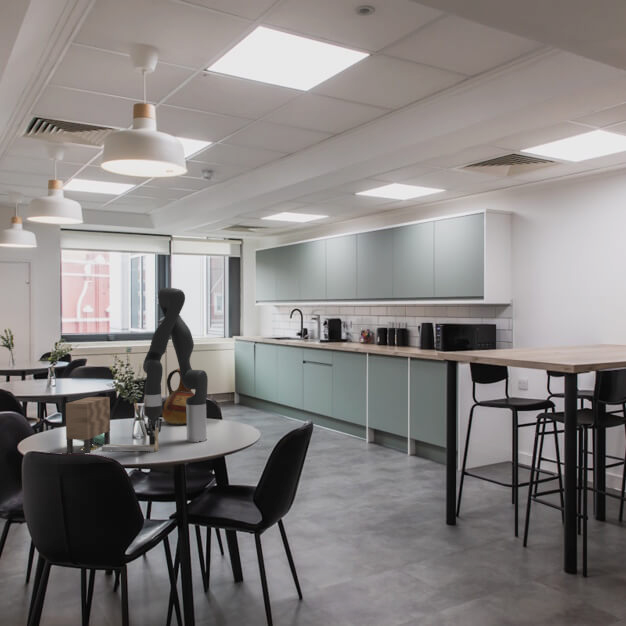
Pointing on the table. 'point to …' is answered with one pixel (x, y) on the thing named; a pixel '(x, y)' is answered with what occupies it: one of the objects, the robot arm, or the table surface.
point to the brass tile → (91, 447)
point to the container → (99, 439)
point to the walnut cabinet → (87, 421)
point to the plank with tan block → (133, 446)
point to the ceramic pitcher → (176, 402)
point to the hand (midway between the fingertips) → (153, 443)
